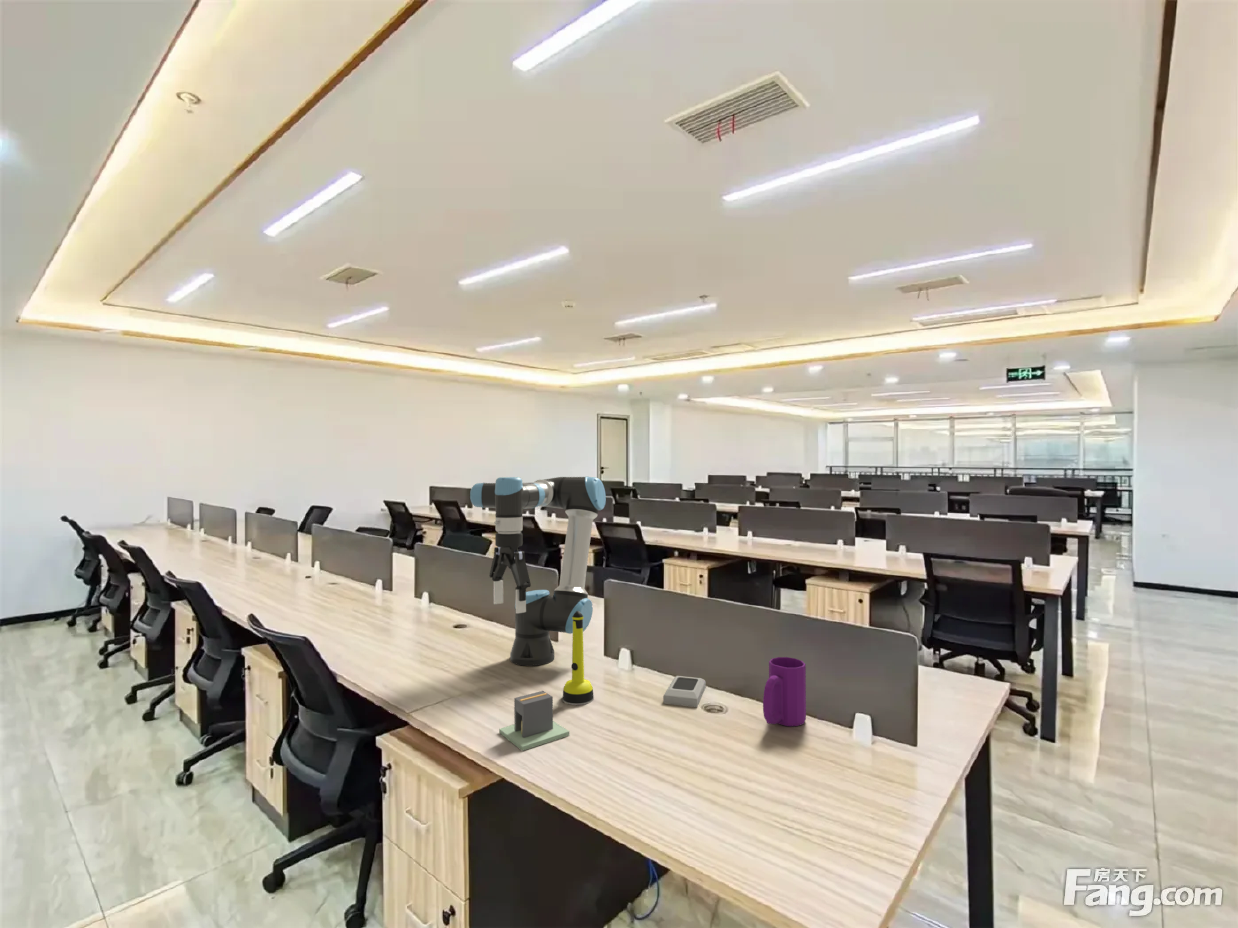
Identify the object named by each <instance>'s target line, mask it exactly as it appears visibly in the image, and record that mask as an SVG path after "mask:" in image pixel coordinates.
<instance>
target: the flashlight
mask: <svg viewBox="0 0 1238 928" xmlns="http://www.w3.org/2000/svg"><path fill="white" fill-rule="evenodd" d="M572 619H573V633H572V645H571V646H572V647H571V648H572V650H571V651H572V655H571V656H572V657H571V659H572V660H571V661H572V662H571V667H570V668H571V679H568V680H567V681H566V682H565V683H564V686H563V688H562V689H563V690H562V698H561V699H562V702H563V703H565V704H567V705H572V706H583V705H587V704H590V703H592V702H593V701H594V698H595V697H594V688H593V684H592V683H591V681H590V680H588V679H586V678H585V660H584V658H585V657H584V631H583V619H584V618H583V615H582V614H581V613H580V612H579V611H576V612H575V613H574V615H573V616H572Z"/></svg>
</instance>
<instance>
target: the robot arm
mask: <svg viewBox="0 0 1238 928" xmlns="http://www.w3.org/2000/svg"><path fill="white" fill-rule="evenodd" d="M469 495H470V496H469V498H470V502H471V504H472V506H474V507H475V508H482V509H485V508H486V509H492V508H493V509H495V521H494V525H495V531H496V533H495V535H494V536H495V538H494V539H495V544H494V545H495V546H496V547H494V550H493V552H494V553H493V558H492V563H491V567H490V570H489V578H491V580H492V581H493V605H500V604H504V577H503V576H504V574H505V572H506V570H507V567H508V569H510V570H511V571H510V572H511V574H512V576H513V579H514V582H515V585H516V587H515V602H514V623H515V624H514V627H515V628H514V632H515V633H514V634H515V635H514V636H515V637H514V640H513V643H512V647H511V650H510V653H509V656H510V658H509V660H510V662H511V663H512V664H514V665H517V666H518V665H519V666H523V667H524V666H525V667H532V666H533V667H535V666H540V665H545V664H548V663H551V662H552V661H554V660H555V649H554V645H553V642H552V640H551V637H550V632H555V633H556V632H557V633H566V634H569V635H571V634H573V619H572V616H573V615H574V613H575V612H576V611H579V612H580V613H581V614H582V615H583V618H584V619H583V632H585V630H586V629H587V628H588V627H589V625H590V623H591V620H592V618H593V617H592V616H593V612H594V609H593V602H592V600H591V599H589V598H588V597H589V593H588V592H587V590H586V589H585V585H586V578H587V577H586V576H587V570H588V561H589V553H590V547H591V544H590V543H591V536H592V528H593V527H592V526H593V523H594V522H593V521H594V519H596V518H597V517H598V515H599V511H601V510H603V509H604V508H605V506H606V503H607V501H606V499H607V497H606V490H605V486H604V484H603V481H602V480H601V479H600V478H598V477H592V476H557V477H550V478H545V479H536V480H535V481H534V482H523V478H521V477H518V476H517V477H515V476H509V477H508V476H506V477H503V476H502V477H497V478H496V479H495V482H479V483H478V482H477V483H475V484H474V485H472V487H471V489H470V493H469ZM539 507H542V508H543V507H544V508H545V507H548V508H554V509H562V510H565V511H564V512H565V514H566V515H567V517H568V520H567V527H566V534H565V542H564V548H563V549H564V550H563V555H562V562H561V563H562V565H561V571H560V578H559V585H558V586H557V587H556V588H555V589H554V590H553V595H550V591H549V590H547V589H535V590H529V591H527V589H528V588H530V587H532V585H531V581H530V575H529V572H528V571H529V570H528V567H527V563H526V555H525V550H524V551H519V547H522V546H523V543H524V541H523V535H524V534H523V533H522V531H523V525H524V521H523V518H524V517H523V510H525V509H527V510H528V509H535V508H539Z"/></svg>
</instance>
